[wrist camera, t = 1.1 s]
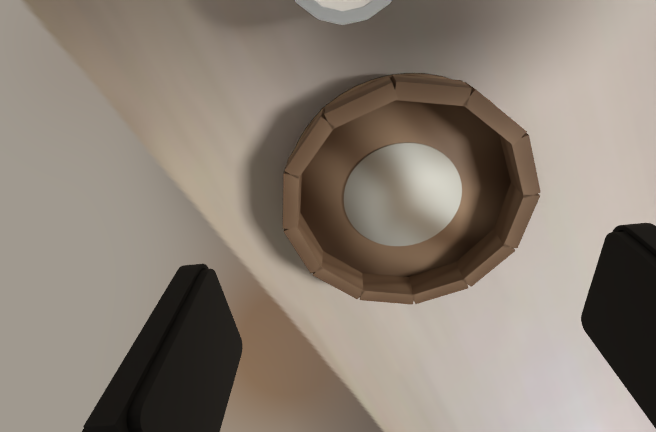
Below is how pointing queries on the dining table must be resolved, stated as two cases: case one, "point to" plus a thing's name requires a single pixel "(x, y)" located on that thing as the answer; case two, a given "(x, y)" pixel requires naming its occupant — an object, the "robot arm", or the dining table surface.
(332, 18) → the white cup
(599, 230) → the dining table surface
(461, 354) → the dining table surface
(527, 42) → the dining table surface
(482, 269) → the round wooden tray
